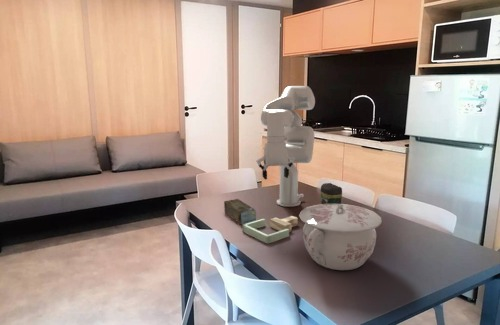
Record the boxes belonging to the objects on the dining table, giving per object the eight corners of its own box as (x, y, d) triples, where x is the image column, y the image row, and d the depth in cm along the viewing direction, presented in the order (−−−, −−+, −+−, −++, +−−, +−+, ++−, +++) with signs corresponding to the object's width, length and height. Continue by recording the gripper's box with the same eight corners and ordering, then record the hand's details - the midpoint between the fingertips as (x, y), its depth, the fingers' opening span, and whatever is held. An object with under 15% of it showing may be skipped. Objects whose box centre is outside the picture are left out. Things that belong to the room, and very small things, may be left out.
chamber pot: (357, 242, 143) (360, 191, 138) (394, 277, 116) (399, 215, 112) (288, 247, 139) (288, 195, 135) (310, 284, 112) (311, 221, 108)
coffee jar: (344, 227, 158) (345, 186, 154) (328, 230, 155) (329, 188, 151) (332, 220, 167) (333, 181, 163) (316, 222, 164) (317, 182, 160)
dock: (263, 225, 162) (263, 218, 161) (288, 236, 149) (289, 229, 148) (242, 231, 155) (242, 224, 154) (267, 243, 142) (267, 236, 141)
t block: (287, 221, 166) (287, 213, 165) (303, 227, 158) (303, 219, 158) (269, 226, 160) (269, 219, 159) (285, 233, 152) (285, 225, 151)
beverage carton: (240, 225, 162) (240, 211, 161) (223, 212, 179) (223, 200, 178) (256, 222, 166) (256, 208, 165) (238, 210, 183) (237, 197, 181)
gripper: (291, 137, 163) (291, 174, 166) (254, 139, 159) (254, 177, 162) (297, 140, 156) (297, 178, 159) (258, 141, 152) (259, 181, 155)
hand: (275, 178), depth 161 cm, fingers open, 9 cm apart
